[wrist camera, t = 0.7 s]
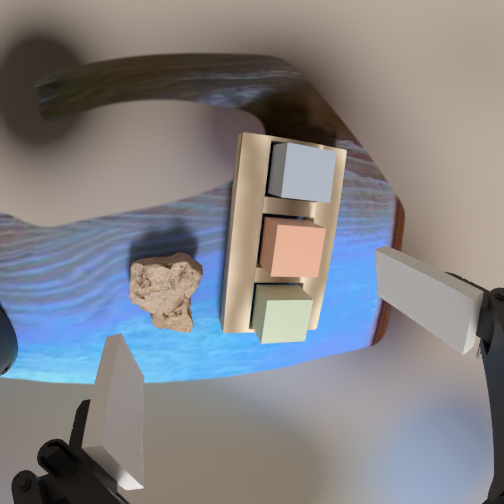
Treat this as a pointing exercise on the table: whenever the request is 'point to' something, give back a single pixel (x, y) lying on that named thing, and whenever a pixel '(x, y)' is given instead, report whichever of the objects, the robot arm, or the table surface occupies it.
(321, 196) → the slate block
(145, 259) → the stone
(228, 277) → the socket board
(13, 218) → the table surface
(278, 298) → the sage block
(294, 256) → the terracotta block
